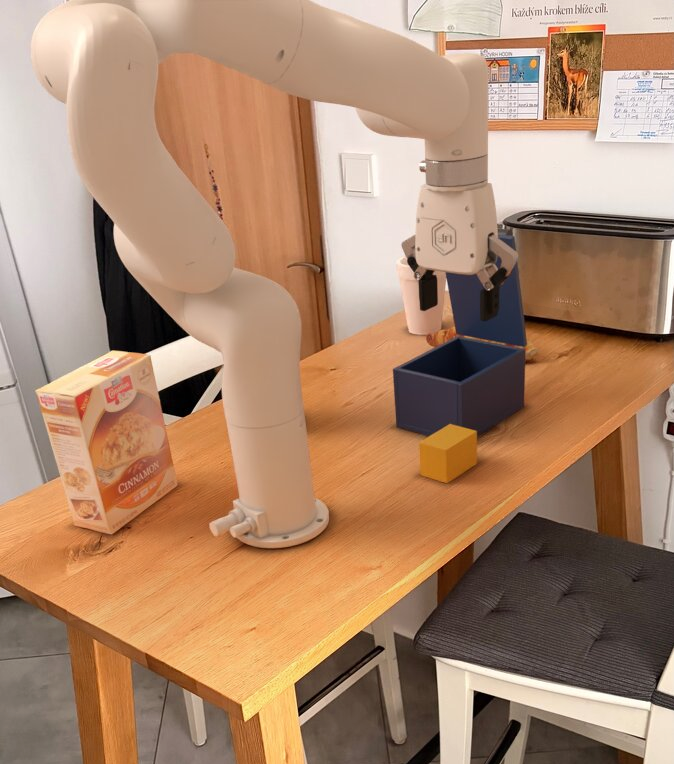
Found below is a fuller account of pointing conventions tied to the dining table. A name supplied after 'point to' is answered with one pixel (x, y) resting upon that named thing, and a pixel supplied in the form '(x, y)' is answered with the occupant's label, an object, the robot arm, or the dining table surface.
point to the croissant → (447, 335)
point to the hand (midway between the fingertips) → (458, 313)
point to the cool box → (459, 386)
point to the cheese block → (448, 453)
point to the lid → (467, 304)
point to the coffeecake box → (109, 439)
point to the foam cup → (415, 317)
